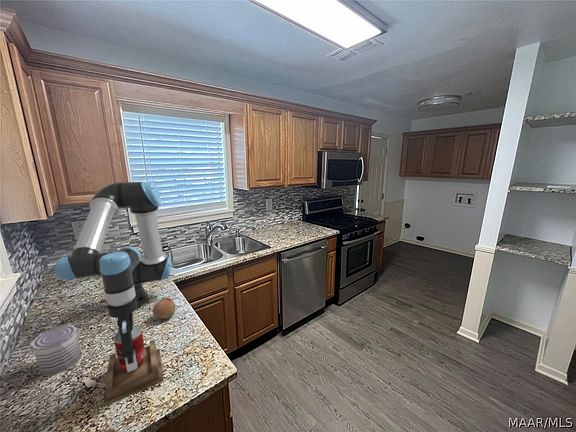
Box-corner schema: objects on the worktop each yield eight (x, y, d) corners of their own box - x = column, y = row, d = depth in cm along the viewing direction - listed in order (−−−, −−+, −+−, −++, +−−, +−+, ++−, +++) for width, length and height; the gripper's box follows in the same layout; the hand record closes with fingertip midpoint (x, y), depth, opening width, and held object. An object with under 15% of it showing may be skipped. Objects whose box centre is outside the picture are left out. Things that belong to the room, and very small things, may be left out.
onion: (169, 317, 115) (174, 296, 118) (175, 321, 108) (180, 298, 111) (148, 318, 109) (153, 296, 112) (153, 322, 102) (158, 298, 105)
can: (87, 347, 92) (81, 321, 90) (74, 370, 82) (66, 340, 80) (50, 356, 88) (42, 329, 86) (31, 381, 78) (22, 350, 76)
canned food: (141, 348, 84) (136, 322, 82) (149, 359, 79) (145, 331, 77) (116, 362, 78) (110, 334, 76) (123, 375, 74) (117, 345, 71)
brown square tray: (108, 368, 82) (105, 354, 81) (159, 349, 91) (157, 336, 89) (103, 406, 69) (99, 390, 68) (163, 380, 77) (161, 365, 76)
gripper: (110, 289, 81) (121, 345, 85) (103, 322, 64) (117, 390, 68) (135, 283, 85) (144, 337, 89) (135, 312, 67) (146, 377, 72)
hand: (132, 360), depth 79 cm, fingers closed on canned food, 8 cm apart
